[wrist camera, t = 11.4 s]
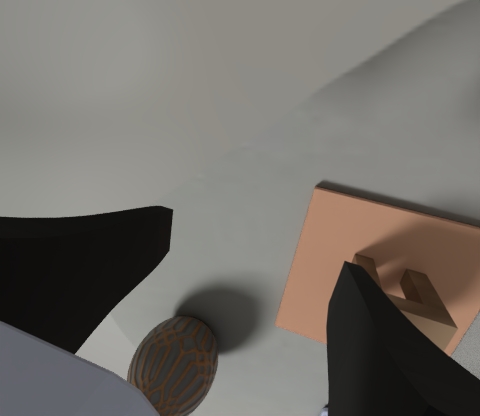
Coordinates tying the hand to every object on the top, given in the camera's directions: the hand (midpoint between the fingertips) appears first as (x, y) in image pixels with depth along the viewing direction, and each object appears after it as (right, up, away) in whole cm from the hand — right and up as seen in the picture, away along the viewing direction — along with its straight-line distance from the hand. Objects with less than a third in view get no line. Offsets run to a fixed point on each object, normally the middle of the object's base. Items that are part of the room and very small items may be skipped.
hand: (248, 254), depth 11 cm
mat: (+9, -4, +9) cm, 13 cm away
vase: (-5, -10, +16) cm, 19 cm away
